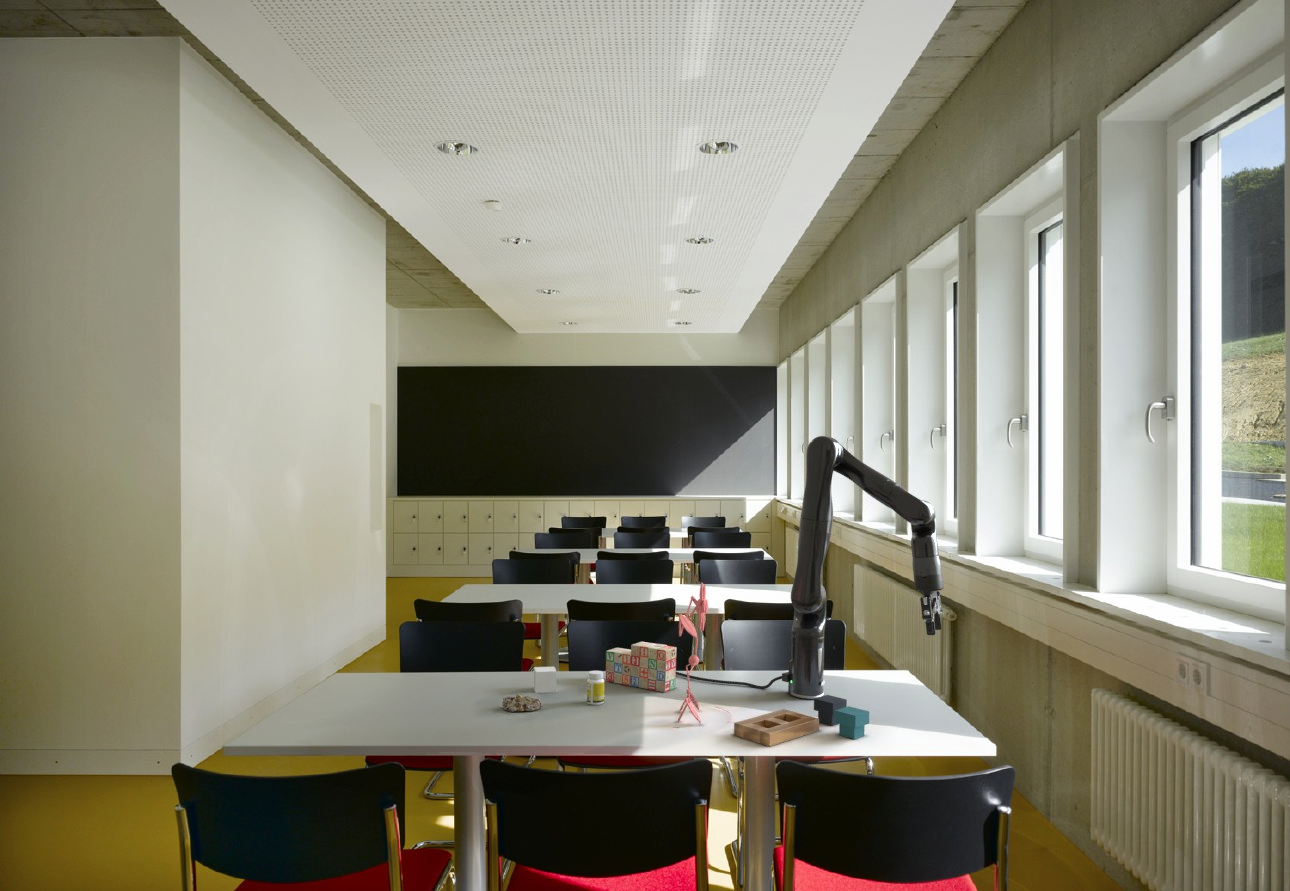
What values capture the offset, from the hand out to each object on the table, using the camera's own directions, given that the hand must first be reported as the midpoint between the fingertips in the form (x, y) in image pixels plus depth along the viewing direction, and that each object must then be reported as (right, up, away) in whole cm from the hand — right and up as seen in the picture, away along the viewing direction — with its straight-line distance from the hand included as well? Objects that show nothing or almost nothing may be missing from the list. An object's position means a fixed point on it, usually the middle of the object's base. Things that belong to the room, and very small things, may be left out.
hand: (934, 632), depth 236 cm
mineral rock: (-112, -20, -5) cm, 114 cm away
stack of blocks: (-81, -21, +23) cm, 86 cm away
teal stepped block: (-28, -21, -23) cm, 42 cm away
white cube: (-108, -20, +15) cm, 111 cm away
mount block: (-46, -20, -22) cm, 55 cm away
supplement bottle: (-93, -20, +2) cm, 95 cm away
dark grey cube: (-31, -21, -12) cm, 39 cm away
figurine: (-64, -20, -11) cm, 68 cm away
